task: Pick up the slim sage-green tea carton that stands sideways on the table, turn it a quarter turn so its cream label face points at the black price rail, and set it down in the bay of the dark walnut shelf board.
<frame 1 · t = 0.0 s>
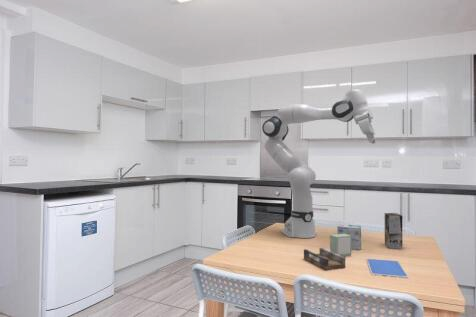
hand: (372, 142, 167), 52 cm above the table, tool tilted 20°, fingers open, 8 cm apart
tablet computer: (385, 270, 127), on the table
coffee box: (393, 246, 161), on the table
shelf: (323, 263, 134), on the table
light bulb box: (349, 247, 159), on the table
tea carton: (340, 255, 145), on the table
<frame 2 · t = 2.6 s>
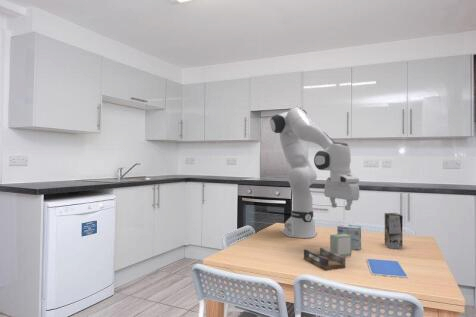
hand: (340, 208, 145), 21 cm above the table, tool pointing down, fingers open, 8 cm apart
nothing on the table moved.
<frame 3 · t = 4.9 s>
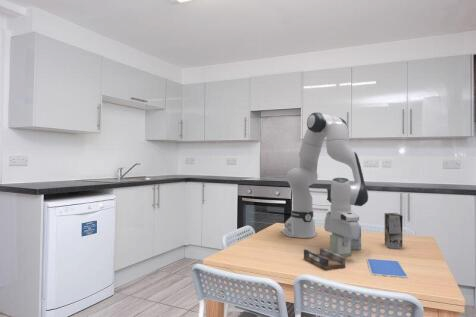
hand: (340, 245, 145), 5 cm above the table, tool pointing down, fingers closed on tea carton, 5 cm apart
tea carton: (340, 255, 145), on the table, touching gripper
everything else where it was.
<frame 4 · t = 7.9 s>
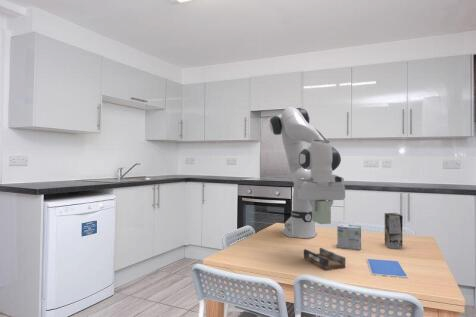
hand: (321, 211, 135), 21 cm above the table, tool pointing down, fingers closed on tea carton, 5 cm apart
tea carton: (321, 222, 135), point 17 cm above the table, touching gripper
everything else where it was.
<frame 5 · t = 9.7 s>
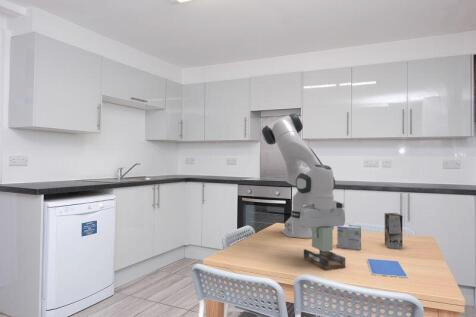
hand: (322, 237, 134), 11 cm above the table, tool pointing down, fingers closed on tea carton, 5 cm apart
tea carton: (321, 248, 134), point 6 cm above the table, touching gripper
everything else where it was.
when the fingers open (7 cm above the table, at t = 11.1 s): tea carton stays where it is, resting on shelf.
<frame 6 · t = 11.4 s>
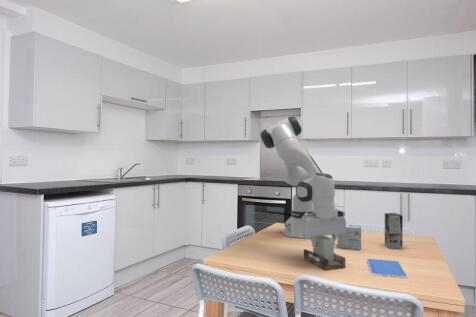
hand: (323, 245, 134), 7 cm above the table, tool pointing down, fingers open, 7 cm apart
tea carton: (323, 259, 134), point 1 cm above the table, touching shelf
everything else where it was.
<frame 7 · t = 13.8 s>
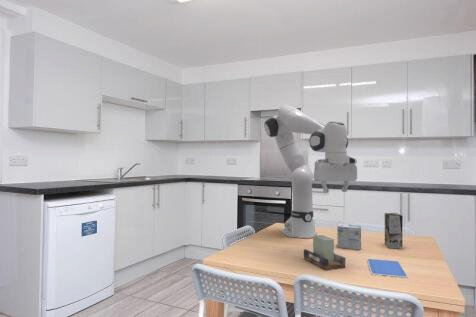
hand: (335, 191, 138), 29 cm above the table, tool pointing down, fingers open, 8 cm apart
nothing on the table moved.
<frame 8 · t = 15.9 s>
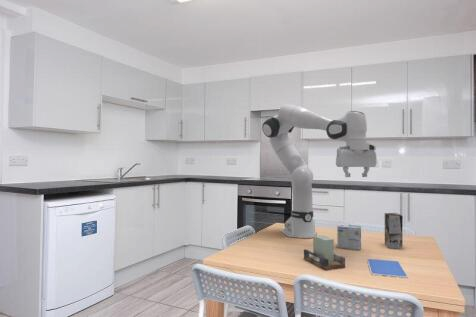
hand: (356, 177, 146), 35 cm above the table, tool pointing down, fingers open, 8 cm apart
nothing on the table moved.
at the end: tea carton inside the target area (0.1 cm from its centre), point 1.5 cm above the table; tea carton tilted 0°; the gripper is holding nothing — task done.
